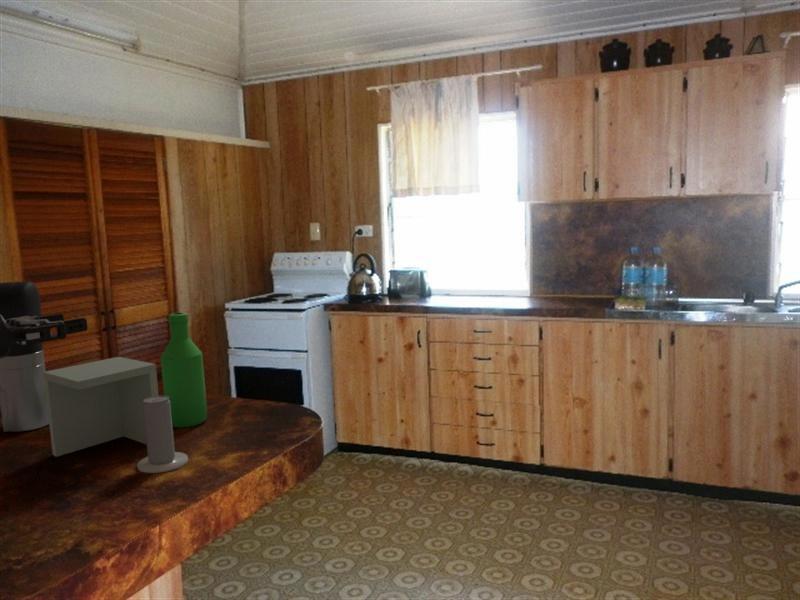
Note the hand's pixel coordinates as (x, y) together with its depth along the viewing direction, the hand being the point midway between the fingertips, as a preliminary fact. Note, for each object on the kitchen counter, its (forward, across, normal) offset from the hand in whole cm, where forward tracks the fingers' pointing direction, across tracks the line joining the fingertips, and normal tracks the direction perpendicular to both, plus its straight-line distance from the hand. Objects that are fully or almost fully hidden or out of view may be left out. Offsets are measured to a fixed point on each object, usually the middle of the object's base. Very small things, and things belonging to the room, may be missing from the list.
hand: (74, 321), depth 113 cm
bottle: (+29, +14, +30) cm, 44 cm away
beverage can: (+11, -4, +28) cm, 31 cm away
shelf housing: (+9, +12, +29) cm, 33 cm away
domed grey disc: (+11, -4, +29) cm, 31 cm away
